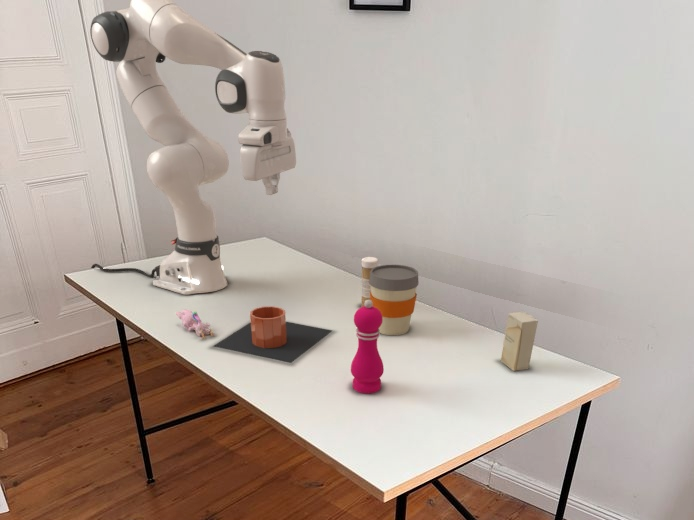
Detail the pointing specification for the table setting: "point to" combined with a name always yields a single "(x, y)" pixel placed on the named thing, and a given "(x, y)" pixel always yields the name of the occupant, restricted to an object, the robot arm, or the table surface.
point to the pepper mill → (367, 350)
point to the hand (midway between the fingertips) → (271, 193)
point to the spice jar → (367, 277)
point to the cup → (268, 327)
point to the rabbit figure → (194, 323)
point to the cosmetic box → (519, 340)
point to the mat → (296, 345)
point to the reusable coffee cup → (394, 296)
